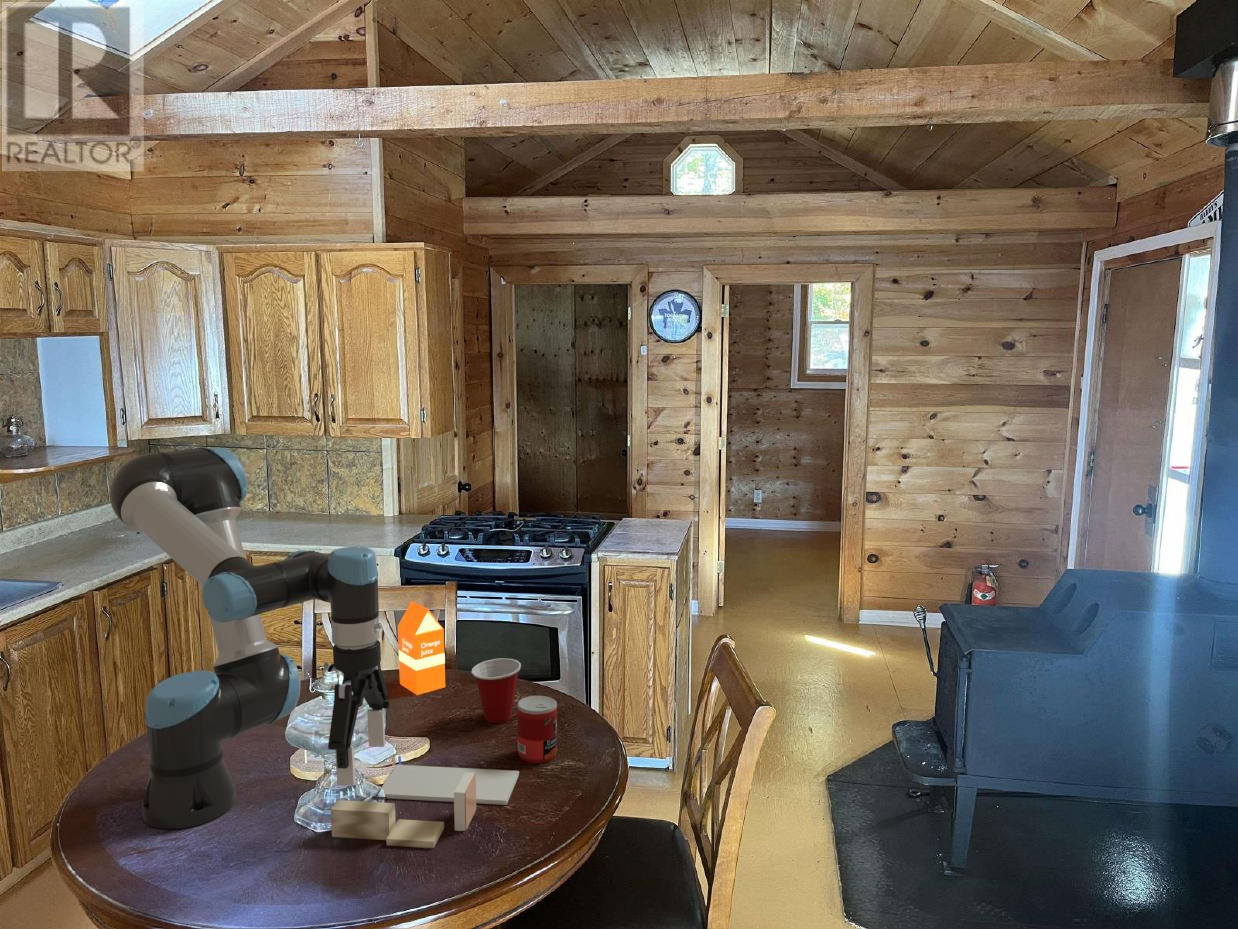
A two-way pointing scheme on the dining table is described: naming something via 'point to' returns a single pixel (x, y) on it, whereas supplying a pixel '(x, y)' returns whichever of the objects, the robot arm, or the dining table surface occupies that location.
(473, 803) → the tile
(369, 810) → the stepped wooden block
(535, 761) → the canned food
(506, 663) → the plastic cup
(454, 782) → the mat
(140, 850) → the dining table surface
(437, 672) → the orange juice
